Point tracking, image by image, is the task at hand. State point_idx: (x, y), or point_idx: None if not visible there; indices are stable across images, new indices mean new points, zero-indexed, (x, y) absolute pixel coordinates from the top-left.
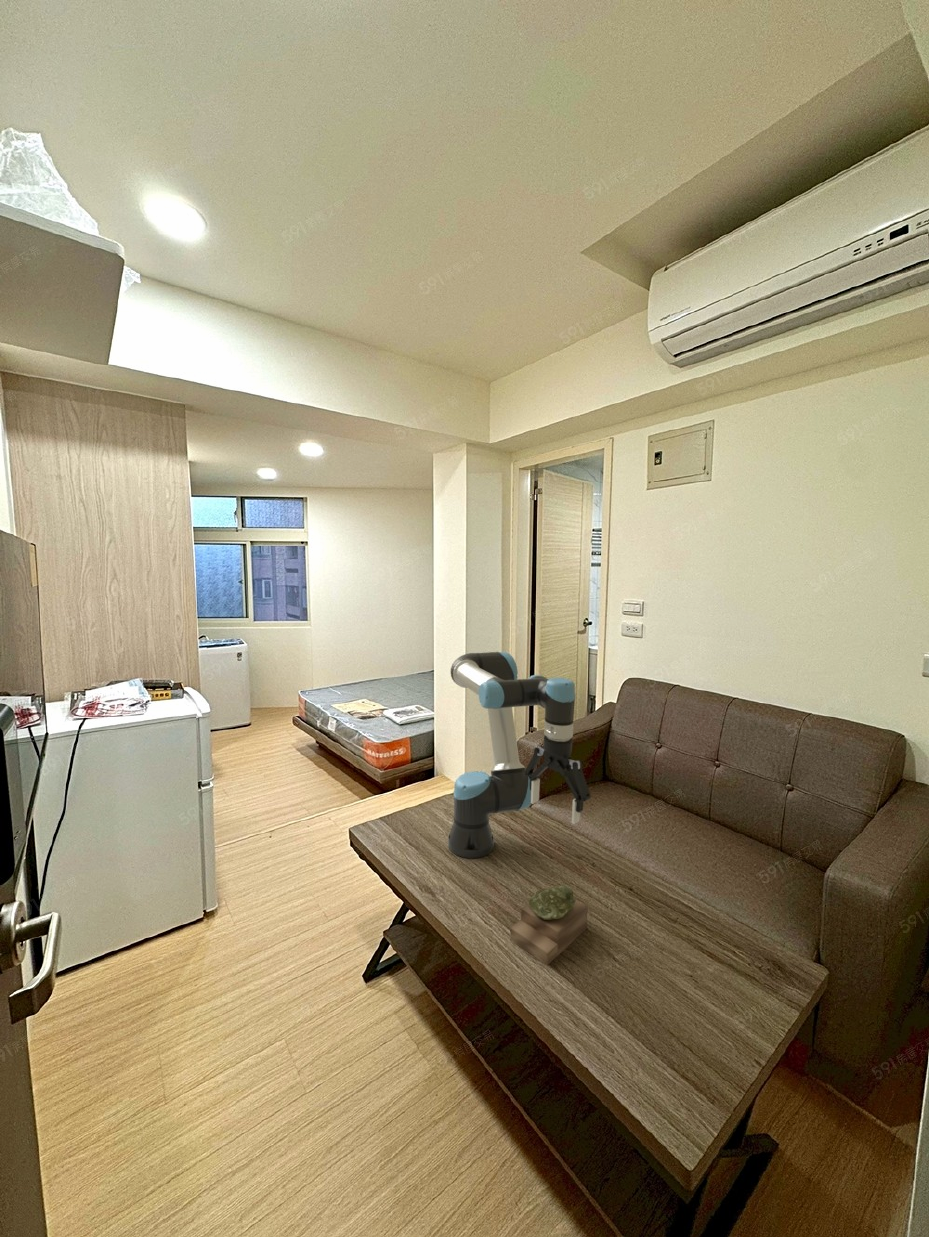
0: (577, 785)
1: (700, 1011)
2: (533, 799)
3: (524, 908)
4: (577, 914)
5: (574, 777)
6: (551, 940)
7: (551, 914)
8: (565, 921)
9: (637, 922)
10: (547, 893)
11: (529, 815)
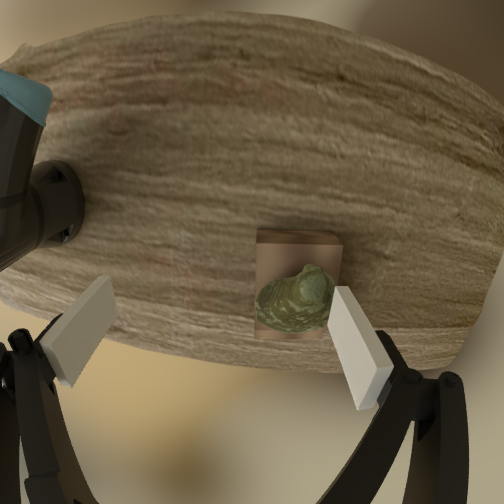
0: (408, 481)
1: (466, 256)
2: (110, 324)
3: (258, 326)
4: (338, 278)
5: (375, 492)
6: None
7: (312, 329)
8: None
9: (387, 159)
10: (289, 316)
11: (61, 43)
